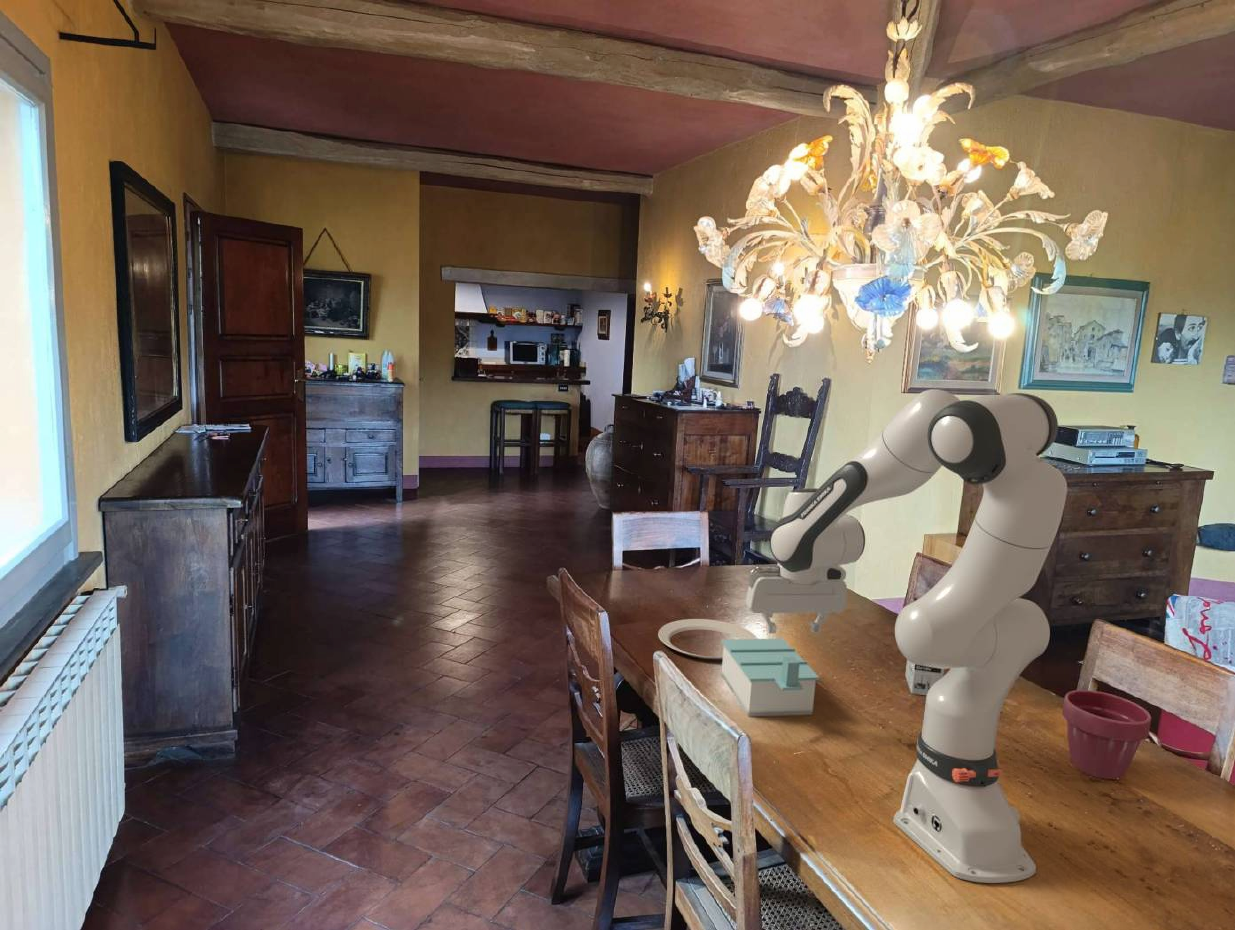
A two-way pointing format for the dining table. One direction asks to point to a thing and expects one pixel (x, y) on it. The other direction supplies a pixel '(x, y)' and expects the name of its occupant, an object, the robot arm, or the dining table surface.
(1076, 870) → the dining table surface
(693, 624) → the beige flat ring
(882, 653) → the dining table surface
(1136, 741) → the plant pot
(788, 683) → the lid
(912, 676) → the light bulb box
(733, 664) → the tub
